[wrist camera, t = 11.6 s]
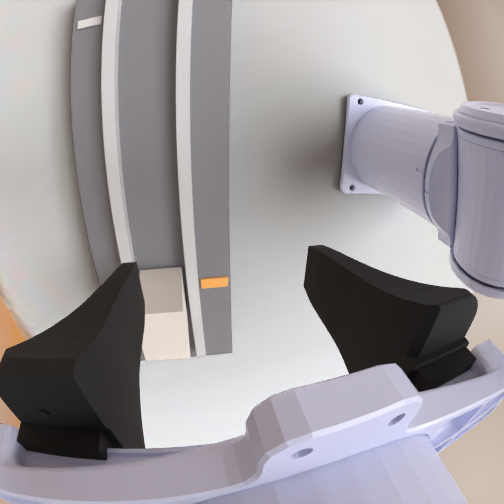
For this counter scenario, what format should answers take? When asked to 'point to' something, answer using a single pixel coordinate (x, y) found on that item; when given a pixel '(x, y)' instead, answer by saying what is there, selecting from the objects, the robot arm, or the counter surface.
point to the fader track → (157, 147)
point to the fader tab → (164, 315)
